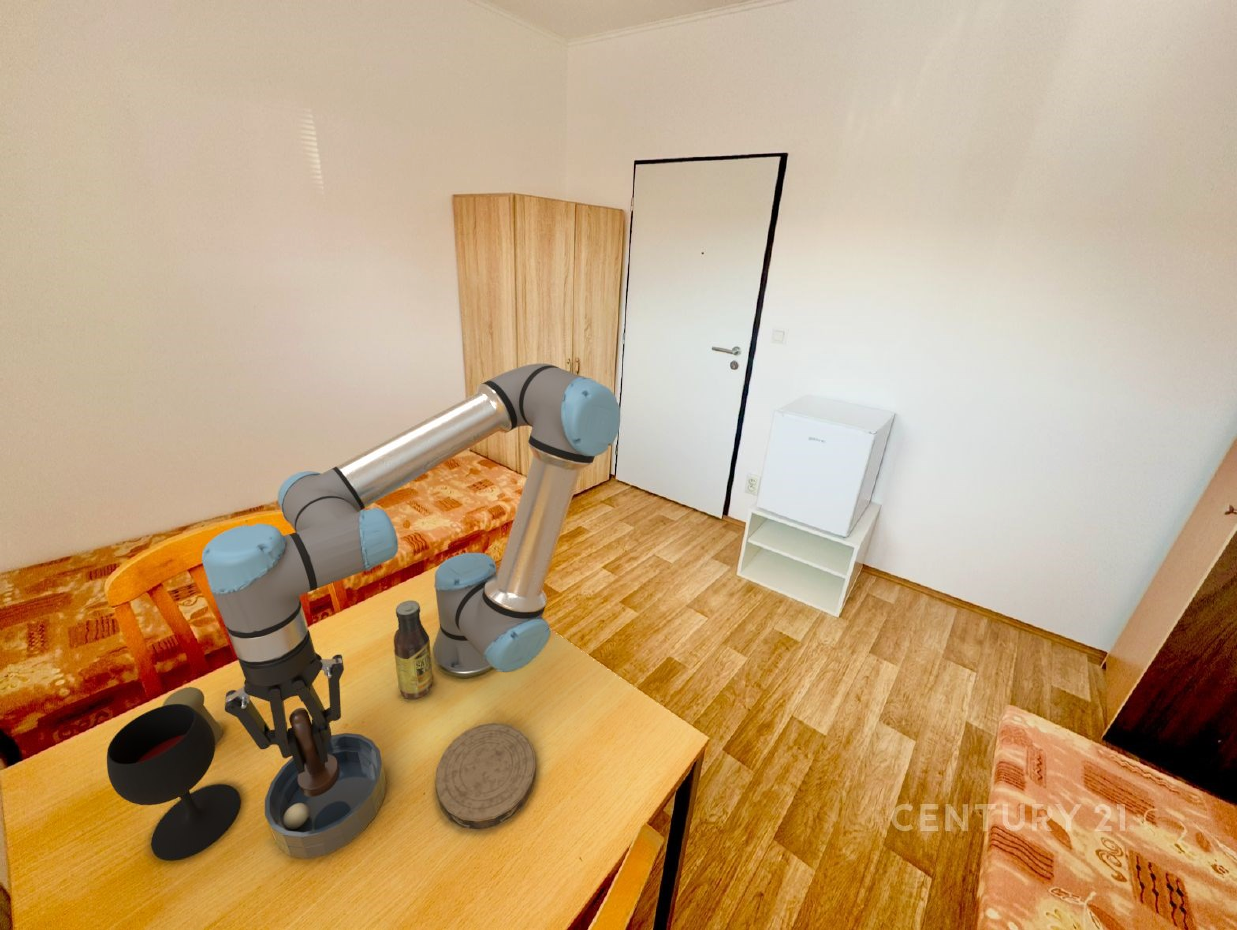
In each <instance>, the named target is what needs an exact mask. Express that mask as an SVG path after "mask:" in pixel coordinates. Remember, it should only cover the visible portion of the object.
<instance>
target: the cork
mask: <svg viewBox="0 0 1237 930" xmlns="http://www.w3.org/2000/svg"><path fill="white" fill-rule="evenodd" d="M170 704H184V705H188V706H190V707H192V708H193V709H194V710H196V711H197V712H198V713H200V714H201V715H202V716H203V717H204V718H205V719H206V720H207V722H208V723H209V725H210V726H211V728H212V730H213V733H214V737H215V746H216V745H217V744H218V743H219V742H220V741H221V738H222V737H223V730H222V728H221V726H220V725H219V723H218V722H217V720H216V719H215V718H214V717H213V715H212V714H211V712H210V711H209V710H208V708H207V707H206V706H205V705H204V704H205V695H204V692H203V691H202V690H201V689H199V688H198V687H193V686H188V687H184V688H181V689H178V690H176V691H174V692H173V693H171V694H169V696H167V697H166V698H165V700H164V701H163V703H162V706H165V705H170Z"/></svg>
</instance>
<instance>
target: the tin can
mask: <svg viewBox="0 0 1237 930" xmlns="http://www.w3.org/2000/svg"><path fill="white" fill-rule="evenodd" d="M535 757H536V756H535V749H534V748H533V746H532V744H531V741H530V739H529V738H528V737H527V735H525V734H524V733H523V732H522V731H521V730H520V729H518V728H517V727H514V726H512V725H510V724H508V723H499V722H489V723H483V724H478V725H476V726H474V727H471V728H469V729H467V730H465V731H464V732H462V733H461V734H460V735H459V736H457V737H456V738H455V739H453V740H452V742H451V743H450V744H449V745H448V746H447V748H446V749H445V750H444V752H442V755H441V757H440V760H439V762H438V764H437V767H436V772H435V773H436V774H435V784H434V785H435V791H436V798H437V800H438V805H439V809H440V810H441V812H442V814H444V816H445V817H446V819H447V820H448V821H449V822H450V823H452V824H454V825H455V826H457V827H459V828H461V829H463V830H470V831H478V832H480V831H484V830H489V829H494V828H497V827H499V826H500V825H502V824H504V823H506V822H508V821H510V820H511V819H513V818H514V817H515V816H516V815H517V813H518V812H519V811H521V810H522V809H523V808H524V807H525V805H526V803H527V801H528V799H529V797H530V796H531V794H532V792H533V788H534V784H535V781H536V758H535Z"/></svg>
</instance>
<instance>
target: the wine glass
mask: <svg viewBox="0 0 1237 930" xmlns="http://www.w3.org/2000/svg"><path fill="white" fill-rule="evenodd" d="M215 753H216V745H215V737H214V733H213V730H212V728H211V726H210V725H209V723H208V722H207V720H206V719H205V718H204V717H203V716H202V715H201V714H200V713H198V712H197V711H196V710H194V709H193V708H192V707H190V706H188V705H184V704H170V705H165V706H159V707H155V708H153V709H150V710H148V711H146V712H144V713H142V714H140V715H138V716H136V717H135V718H134V719H132V720H131V721H129V722H128V723H126V724H125V725H124V726H123V727H122V728H121V729H120V730H119V731H118V732H117V733H116V734H115V735H114V737H113V738H112V739H111V741H110V743H109V744H108V747H107V751H106V768H107V776H108V779H109V782H110V784H111V786H112V788H113V790H114V791H115V792H116V793H117V794H118V795H119V797H121V798H122V799H124V801H127V802H129V803H131V804H134V805H139V806H156V805H161V804H165V803H168V802H171V801H174V800H176V799H178V798H179V799H180V800H179V801H178V802H176V803H175V804H173V805H172V806H171V807H170V808H169V809H168V810H167V812H166V813H165V814H164V815H163V816H162V817H161V818H160V820H159V821H158V823H157V825H156V827H155V828H154V830H153V832H152V836H151V841H150V846H151V850H152V852H153V854H154V855H155V856H156V858H158V859H160V860H162V861H166V862H167V861H169V862H171V861H172V862H175V861H180V860H184V859H188V858H190V857H192V856H195V855H197V854H199V853H201V852H203V851H205V850H206V849H208V848H209V847H211V846H212V845H213V844H214V843H215V842H217V841H218V840H219V839H220V838H221V837H222V836H223V835H224V834H225V833H226V832H227V831H228V830H229V829H230V828H231V826H232V824H233V823H234V822H235V820H236V819H237V817H238V815H239V812H240V808H241V804H242V803H241V802H242V801H241V795H240V793H239V792H238V790H237V789H236V788H235V787H234V786H232V785H230V784H225V783H218V784H217V783H216V784H211V785H206V786H204V787H201V788H199V789H196V790H194V791H193V792H191V790H192V789H193V788H194V787H195V786H196V785H197V784H198V783H199V782H200V781H201V780H202V779H203V778H204V776H205V775H206V774H207V772H208V770H209V769H210V767H211V765H212V763H213V760H214V757H215Z"/></svg>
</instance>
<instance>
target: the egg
mask: <svg viewBox="0 0 1237 930" xmlns="http://www.w3.org/2000/svg"><path fill="white" fill-rule="evenodd" d="M308 815H309V809H308V807H307V806H306V805H305V804H303V803H297V804H294V805H292V806H291V807H290V808H289V809H288V810H287V811H286V813H285V815H284V817H283V824H284V826H285V827H286V828H287V829H290V830H294V829H297V828H299V827H301V826H302V825H303V824H304V823H305V822H306V820H307V818H308Z"/></svg>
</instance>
